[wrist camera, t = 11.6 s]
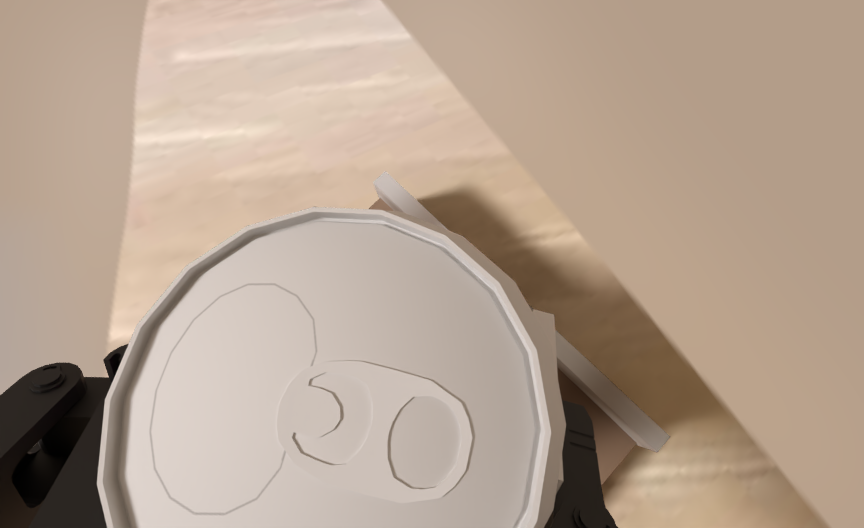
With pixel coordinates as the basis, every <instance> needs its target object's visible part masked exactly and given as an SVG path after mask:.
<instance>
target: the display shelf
mask: <svg viewBox="0 0 864 528" xmlns="http://www.w3.org/2000/svg"><path fill="white" fill-rule="evenodd" d="M373 184H374V186H375V189H376V191H377V194H378V196H379V200H378V201H376V202H375V203H374V204H373V205H372V206H371V207H370V208H369V209H372V210H383V211H401V212H404V213H406V214H409V215H411V216H414V217H416V218H419V219H421V220H424V221H426V222H429V223H431V224H434V225H436V226H439V227H441V228H444V229H446V230H448V229H447V228H446V227H445V226H444V225H443V224H442V223H440V222H439V221H438V220H437V219H436V218H435V217H434V216H433V215H432V214H431V213H430V212H429V211H428V210H427V209H425V208H424V207H423V206H422V205H421V204H420V203H419V202H418V201H417V200H416V199H415V198H414V197H413V196H412V195H410V194H409V193H408V192H407V191H406V190H405V189H404V188H403V187H402V186H401V185H400V184H399V183H398V182H397V181H395V180H394V179H393V178H392V177H391V176H390V175H389V174H388V173H387V172H386V171H385V172H384V173H383V174H382V175H380V176H379V177H378V178H377V179H376V180H375V181H374V182H373ZM529 307H530V309H531V311H532V312H533V308H532V307H531V306H530V305H529ZM555 337H556V355H557V373H558V383H559V388H560V394H561V399H562V400H565V401H568V402H572V403H575V404H579V405H582V406H584V407H585V409H586V411H587V413H588V414H589V416H590V418H591V420H592V422H593V429H594V436H595V437H594V440H595V444H596V453H597V458H598V465H599V472H600V480H601V485H602V484H603V483H604V482H605V481H606V479H607V478H608V477H609V476H610V475H611V473H612V472H613V471H614V470H615V469H616V468H617V466H618V465H619V464H620V463H621V462H622V460H623V459H624V458H625V457H626V456H627V455H628V453H629V452H630V451H631V450H632V449H633V448H634V446H635V445H638V446H641V447H644V448H646V449H649V450H652V451H655V452H658V451H659V450H660V449H661V447H662V446H663V445H664V444H665V443H666V441H667V440H668V439H669V438H670V436H669V435H668V434H667V433H666V432H665V431H664V430H662V429H661V428H660V427H659V426H658V425H657V424H656V423H655V422H654V421H653V420H652V419H651V418H650V417H649V416H647V415H646V414H645V413H644V412H643V411H642V410H641V409H640V408H639V407H638V406H637V405H636V404H635V403H634V402H632V401H631V400H630V399H629V398H628V397H627V396H626V395H625V394H624V393H623V392H622V391H621V390H620V389H619V388H617V387H616V386H615V385H614V384H613V383H612V382H611V381H610V380H609V379H608V378H607V377H606V376H605V375H604V374H602V373H601V372H600V371H599V370H598V369H597V368H596V367H595V366H594V365H593V364H592V363H591V362H590V361H588V360H587V359H586V358H585V357H584V356H583V355H582V354H581V353H580V352H579V351H578V350H577V349H576V348H575V347H573V346H572V345H571V344H570V343H569V342H568V341H567V340H566V339H565V338H564V337H563V336H562V335H561V334H560V333H558V332H557V331H556V330H555Z"/></svg>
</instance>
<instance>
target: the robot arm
mask: <svg viewBox="0 0 864 528" xmlns="http://www.w3.org/2000/svg"><path fill="white" fill-rule="evenodd" d="M533 314H534V316H535V318H536V319H537V321H538V323H539V325H540V326H541V328H542V330H543V332H544V334H545V335H546V337H547V339H548V341H549V342H550V344H551V346H552V351H553V356H554V361H555V367H556V372H557V355H556V337H555V319H554V314H550V313H547V312H543V311H539V310H535V309H533ZM127 347H128V344H127V345H124V346H121V347H119V348H117V349H116V350H114V351H112V352H111V353H109V354H108V356H107V357H106V358H105V359H104V363H105V366H106V369H107V373H108V376H109V378H104V377H84V376H83V374H82V371H81V370H80V368H79V367H78V366H76V365H74V364H71V363H54V364H49V365H45V366H43V367H40V368H37V369H35V370H33V371H31V372H29V373H28V374H26V375H25V376H23V377H22V378H21V379H19V380H18V381H17V382H16V383H15V384H13V385H12V386H11V387H10V388H9V389H7V390H6V391H5V392H4V393H3V394H2V395H0V528H107V525H106V521H105V517H104V512H103V508H102V504H101V500H100V496H99V491H98V487H97V476H98V466H99V455H100V445H101V435H102V425H103V415H104V404H105V398H106V396H107V394H108V391H109V389H110V387H111V384H112V382H113V380H114V377H115V375H116V373H117V370H118V368H119V366H120V363H121V361H122V358H123V356H124V354H125V351H126V349H127ZM557 378H558V373H557ZM562 405H563V410H564V415H565V421H566V430H565V437H564V443H563V450H562V456H561V463H560V470H559V476H558V483H557V490H556V496H555V503H554V510H553V511H552V513H551V515H550V517H549V519H548V521H547V523H546V524H545V526H544V528H618V527H617V526H616V524H615V521H614V519H613V518H612V516H611V515H610V513H609V512H608V510H607V509H606V508H605V504H604V500H603V494H602V487H601V480H600V472H599V465H598V458H597V453H596V444H595V440H594V437H595V436H594V429H593V422H592V420H591V418H590V416H589V414H588V413H587V411H586V409H585V407H584V406H582V405H579V404H575V403H572V402H568V401H565V400H562ZM36 443H37V444H36ZM35 444H36V445H35ZM34 445H35V446H34ZM33 446H34V447H33Z"/></svg>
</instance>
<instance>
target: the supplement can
mask: <svg viewBox="0 0 864 528" xmlns="http://www.w3.org/2000/svg"><path fill="white" fill-rule="evenodd" d="M565 430H566V421H565V415H564V410H563V405H562V399H561V394H560V388H559V383H558V378H557V372H556V367H555V361H554V356H553V351H552V346H551V344H550V342H549V341H548V339H547V337H546V335H545V334H544V332H543V330H542V328H541V326H540V325H539V323H538V321H537V319H536V318H535V316H534V314H533V312H532V311H531V309H530V307H529V305H528V304H527V302H526V300H525V298H524V297H523V295H522V293H521V291H520V290H519V288H518V286H517V284H516V282H515V281H514V280H513V279H511V278H510V277H509V276H508V275H507V274H506V273H505V272H503V271H502V270H501V269H500V268H499V267H498V266H497V265H495V264H494V263H493V262H492V261H491V260H490V259H489V258H487V257H486V256H485V255H484V254H483V253H482V252H480V251H479V250H478V249H477V248H476V247H475V246H474V245H472V244H471V243H470V242H469V241H468V240H467V239H466V238H464V237H463V236H462V235H459V234H456V233H454V232H451V231H449V230H446V229H444V228H441V227H439V226H436V225H434V224H431V223H429V222H426V221H424V220H421V219H419V218H416V217H414V216H411V215H409V214H406V213H404V212H401V211H383V210H372V209H350V208H327V207H312V208H308V209H305V210H301V211H298V212H294V213H291V214H287V215H284V216H280V217H277V218H273V219H269V220H266V221H262V222H259V223H255V224H252V225H248V226H246V227H244V228H243V229H241V230H240V231H238V232H237V233H235V234H234V235H232V236H231V237H229V238H228V239H226V240H225V241H223V242H222V243H220V244H219V245H217V246H216V247H214V248H212V249H211V250H209V251H208V252H206V253H205V254H203V255H202V256H200V257H199V258H197V259H196V260H194V261H193V262H191V263H190V264H188V265H187V266H185V268H184V269H183V270H182V271H181V272H180V274H179V275H178V276H177V277H176V278H175V280H174V281H173V282H172V283H171V284H170V286H169V287H168V288H167V289H166V290H165V292H164V293H163V294H162V295H161V296H160V298H159V299H158V300H157V301H156V303H155V304H154V305H153V306H152V307H151V309H150V310H149V311H148V312H147V313H146V315H145V316H144V317H143V318H142V319H141V321H140V322H139V323H138V324H137V325H136V328H135V330H134V333H133V335H132V337H131V340H130V342H129V344H128V347H127V349H126V351H125V354H124V356H123V358H122V361H121V363H120V366H119V368H118V370H117V373H116V375H115V377H114V380H113V382H112V384H111V387H110V389H109V391H108V394H107V396H106V398H105V404H104V415H103V425H102V435H101V445H100V455H99V466H98V476H97V487H98V491H99V496H100V500H101V504H102V508H103V512H104V517H105V521H106V525H107V528H544V526H545V524H546V523H547V521H548V519H549V517H550V515H551V513H552V511H553V510H554V503H555V496H556V490H557V483H558V476H559V470H560V463H561V456H562V450H563V443H564V437H565Z"/></svg>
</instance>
